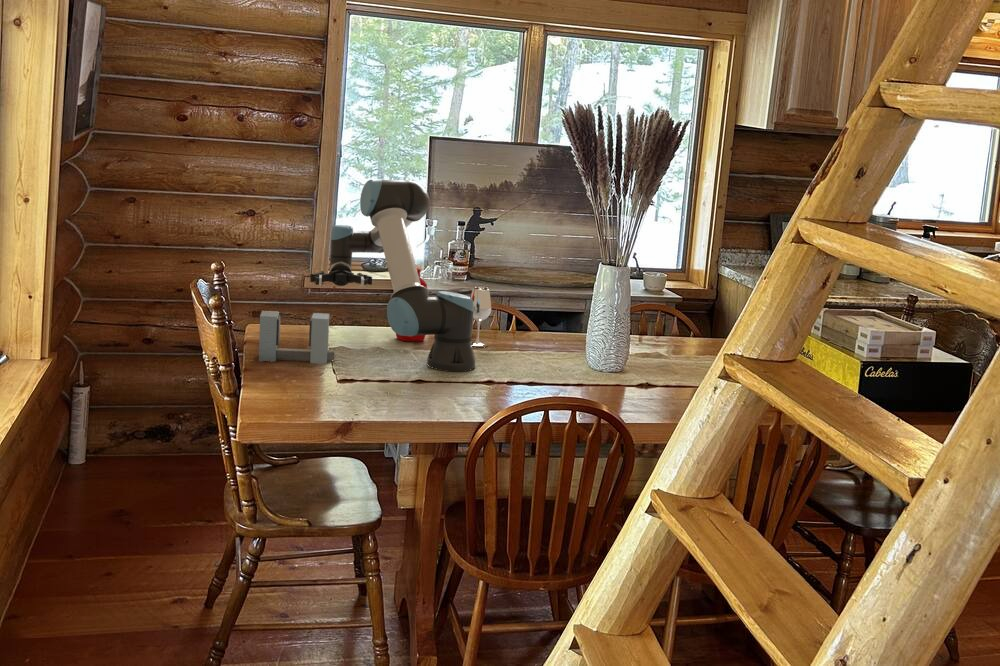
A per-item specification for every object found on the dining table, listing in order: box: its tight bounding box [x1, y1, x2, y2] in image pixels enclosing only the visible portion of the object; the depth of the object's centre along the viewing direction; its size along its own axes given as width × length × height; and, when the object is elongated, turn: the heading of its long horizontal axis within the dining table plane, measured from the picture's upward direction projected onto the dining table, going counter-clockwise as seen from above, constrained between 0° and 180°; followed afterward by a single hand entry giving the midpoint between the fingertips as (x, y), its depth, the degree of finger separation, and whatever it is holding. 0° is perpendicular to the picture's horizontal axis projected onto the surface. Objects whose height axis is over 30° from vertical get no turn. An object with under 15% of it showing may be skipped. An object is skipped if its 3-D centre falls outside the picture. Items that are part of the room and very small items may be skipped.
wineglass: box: [471, 286, 492, 346], centre depth 361 cm, size 8×8×20 cm
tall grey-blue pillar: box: [308, 312, 330, 365], centre depth 323 cm, size 9×6×14 cm, turn 8°
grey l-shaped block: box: [258, 310, 335, 363], centre depth 322 cm, size 22×9×14 cm, turn 98°
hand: (341, 282), depth 339 cm, fingers open, 13 cm apart
